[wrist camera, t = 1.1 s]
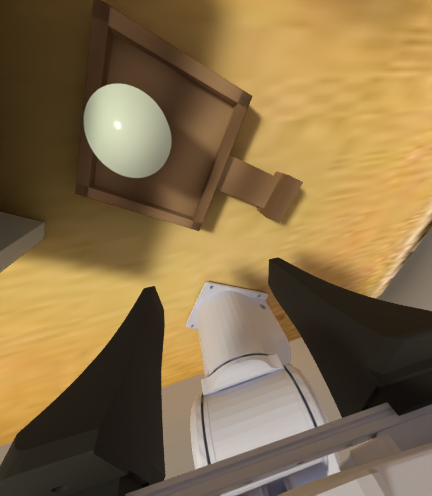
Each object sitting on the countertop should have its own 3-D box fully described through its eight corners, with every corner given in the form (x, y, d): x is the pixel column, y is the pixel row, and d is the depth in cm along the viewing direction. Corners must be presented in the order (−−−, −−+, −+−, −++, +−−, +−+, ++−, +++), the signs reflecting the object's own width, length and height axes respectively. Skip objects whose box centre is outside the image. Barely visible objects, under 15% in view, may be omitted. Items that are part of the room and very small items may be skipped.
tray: (309, 140, 17) (327, 140, 15) (254, 242, 22) (262, 252, 20) (104, 15, 11) (89, -12, 9) (85, 188, 16) (71, 195, 14)
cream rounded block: (179, 119, 14) (181, 111, 10) (163, 177, 16) (159, 188, 12) (115, 87, 13) (88, 62, 9) (105, 155, 14) (79, 160, 10)
